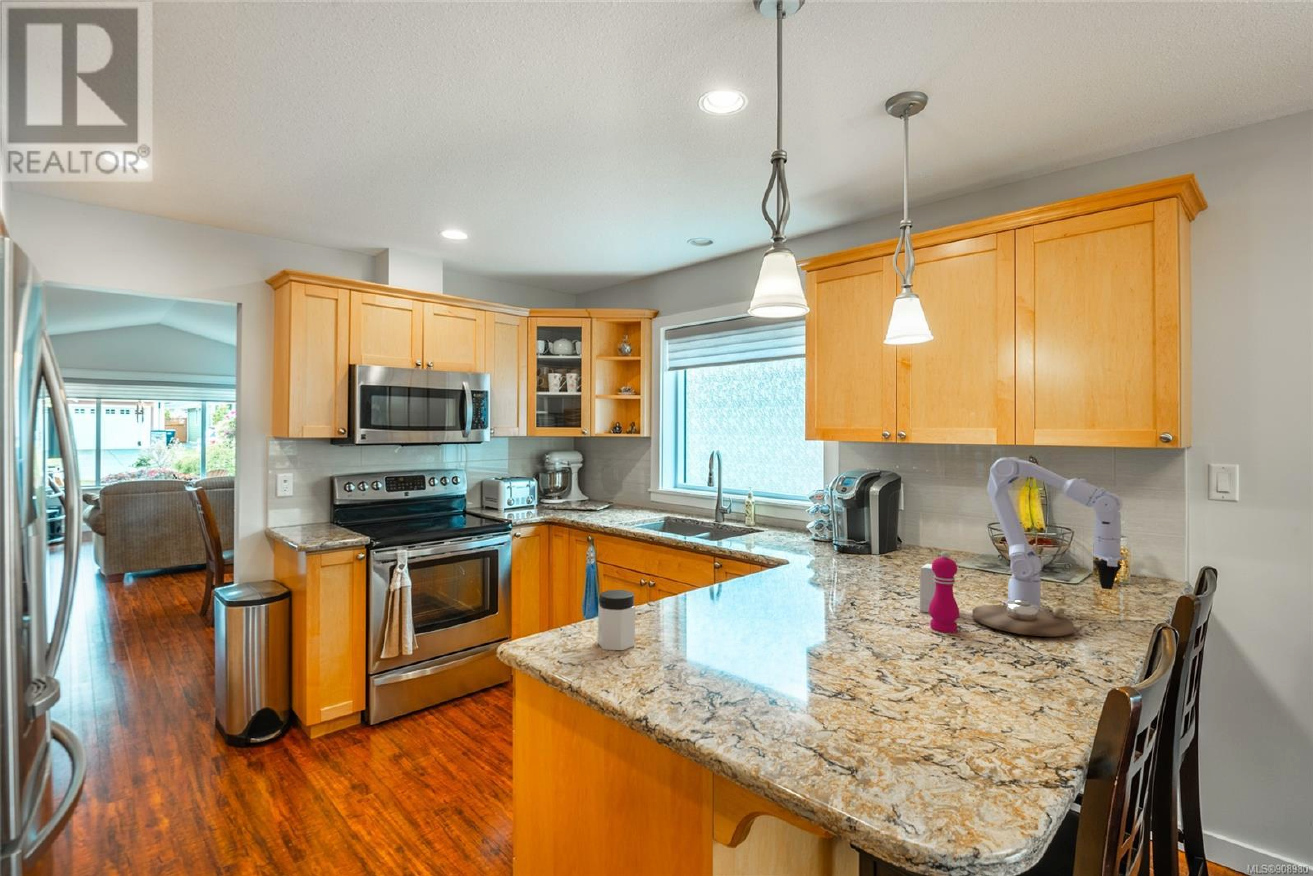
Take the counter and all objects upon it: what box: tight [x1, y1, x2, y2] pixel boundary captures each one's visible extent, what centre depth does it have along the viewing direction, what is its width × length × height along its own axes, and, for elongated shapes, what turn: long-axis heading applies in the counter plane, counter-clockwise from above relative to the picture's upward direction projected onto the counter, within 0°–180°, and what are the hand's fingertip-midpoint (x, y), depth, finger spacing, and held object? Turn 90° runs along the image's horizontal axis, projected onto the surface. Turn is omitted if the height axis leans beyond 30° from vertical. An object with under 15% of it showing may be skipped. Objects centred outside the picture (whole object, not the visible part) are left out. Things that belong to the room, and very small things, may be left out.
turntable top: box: [971, 604, 1075, 637], centre depth 162 cm, size 23×23×4 cm
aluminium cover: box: [1006, 599, 1038, 622], centre depth 162 cm, size 7×7×4 cm
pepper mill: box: [928, 551, 960, 633], centre depth 158 cm, size 7×7×20 cm
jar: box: [597, 589, 636, 651], centre depth 144 cm, size 9×8×12 cm
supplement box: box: [919, 563, 936, 614], centre depth 175 cm, size 7×7×13 cm
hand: (1106, 588), depth 164 cm, fingers closed
